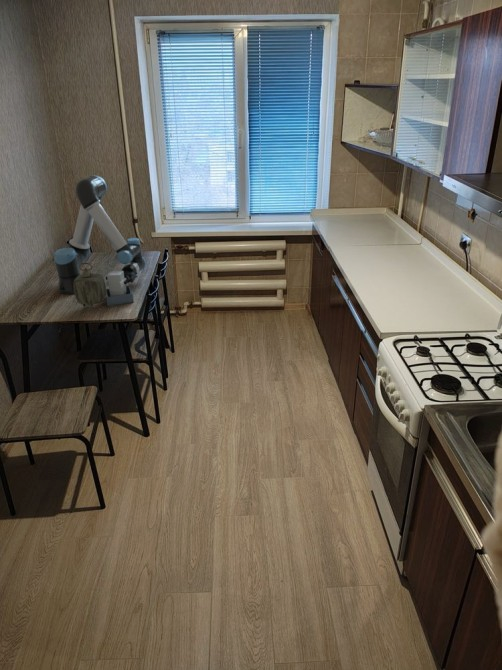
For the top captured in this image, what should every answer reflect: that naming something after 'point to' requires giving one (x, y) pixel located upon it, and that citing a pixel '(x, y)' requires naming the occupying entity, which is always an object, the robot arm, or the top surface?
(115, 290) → the supplement box
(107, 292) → the tote
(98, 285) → the tabletop clock
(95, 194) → the robot arm
